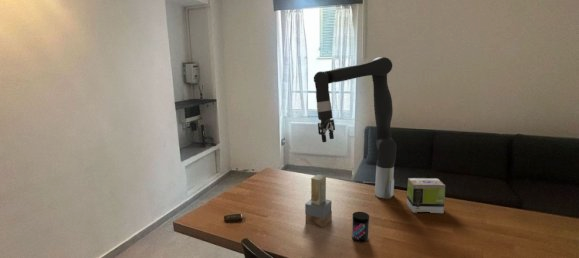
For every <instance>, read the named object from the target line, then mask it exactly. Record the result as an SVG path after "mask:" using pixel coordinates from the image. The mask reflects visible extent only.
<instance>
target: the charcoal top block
mask: <svg viewBox="0 0 579 258" xmlns="http://www.w3.org/2000/svg"><path fill="white" fill-rule="evenodd" d="M304 204H305V205H304V206H305V207H304V211H305V215H306V214H307V215H311V216H315V217H318V218H322V219H324V218H325V217H326V216H327V215H328V213H329V212H330V211H332V200H330V199H327V198H326V201H324V202H323V203H322V204H320V205H316V204H313V203H311V199H309V200H307V202H306V203H304Z"/></svg>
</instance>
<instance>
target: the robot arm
mask: <svg viewBox="0 0 579 258" xmlns="http://www.w3.org/2000/svg"><path fill="white" fill-rule="evenodd" d="M392 69H393V62H392V60H391V59H390V58H388V57H386V56H380V57H376V58H374V59H372V61H370V62H365V63H362V64H361V63H360V64H355V65H354V64H353V65H347V66H342V67H341V66H340V67H337V68H332V69H329V70H325V71H322V70H320V71H317V72H316V73H315V74H314V76H313V82H314V86H315V99H316V100H315V101H316V109H317V119H318V121H320V122H317V130H318V135H320V136H321V142H322V143H326V142H327V131H328V136H329V137H328V138H329V140H333V139H334V137H335V136H334V135H335V134H334V132H335V130H336V127H335V120H334V119H333V109H332V108H333V107H332V102H331V97H330V90H329V89H330V87H329V84H332V83H339V82H346V81H349V80H350V81H351V80H355V79H358V78H362V77H368V76H371V77H372V78H371V79H372V83H373V107H374V110H373V111H374V119H375V125H376V127H375V128H376V138H375V139H376V140H375V142H376V143H375V145H376V148H377V150H378V155H377V160H376V166H375V167H376V168H375V183H374V186H375V187H374V196H375V197H377V198H380V199H387V200H388V199H389V200H391V199H392V197H393V196H394V190H395V189H394V188H395V179H394V173H395V163H396V160H397V159H396V158H397V143H396V141H395V140H393V138H392V137H393V136H392V131H391V123H392V118H393V109H394V108H393V99H392V95H391V92H390V89H389V86H388V74H389V73H390V72H391V71H392Z"/></svg>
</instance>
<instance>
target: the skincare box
mask: <svg viewBox="0 0 579 258" xmlns="http://www.w3.org/2000/svg"><path fill="white" fill-rule="evenodd" d="M310 181H311V182H310V187H311V190H310V191H311V192H310V193H311V194H310V195H311V196H310V197H311V198H310V200H311V203H313V204H316V205H320V204H322V203H323V202H324V201H326V199H327V197H326V196H327V191H326V189H327V176H326V175H323V174H315V175H314V176H313V177H311V180H310Z"/></svg>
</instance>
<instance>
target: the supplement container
mask: <svg viewBox="0 0 579 258" xmlns="http://www.w3.org/2000/svg"><path fill="white" fill-rule="evenodd" d="M351 219H352V223H351V224H352V226H351V227H352V229H351V231H352V232H351V237H352V239H353V240H354V241H355V242H357V243H365V242H367V241H368V240H369V232H370V231H369V229H370V226H369V225H370V214H368V213H367V212H364V211H354V212H353V213H352V218H351Z"/></svg>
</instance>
